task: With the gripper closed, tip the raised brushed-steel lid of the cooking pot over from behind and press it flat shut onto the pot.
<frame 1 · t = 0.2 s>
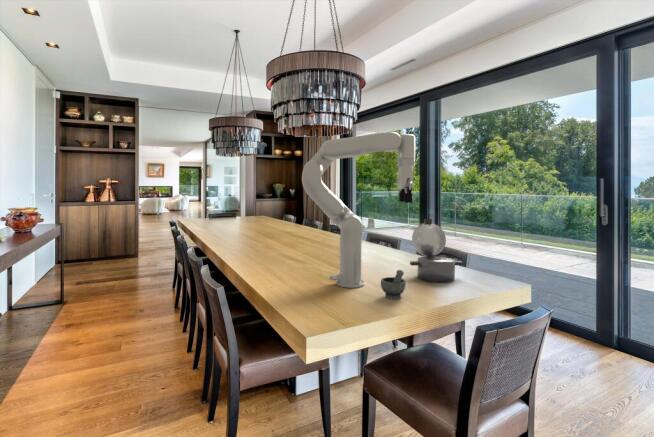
hand: (405, 202, 158), 37 cm above the table, tool pointing down, fingers open, 9 cm apart
mortar and pestle: (393, 298, 141), on the table
pot: (435, 278, 171), on the table
pot lid: (428, 237, 181), point 18 cm above the table, hinge at 105.0°
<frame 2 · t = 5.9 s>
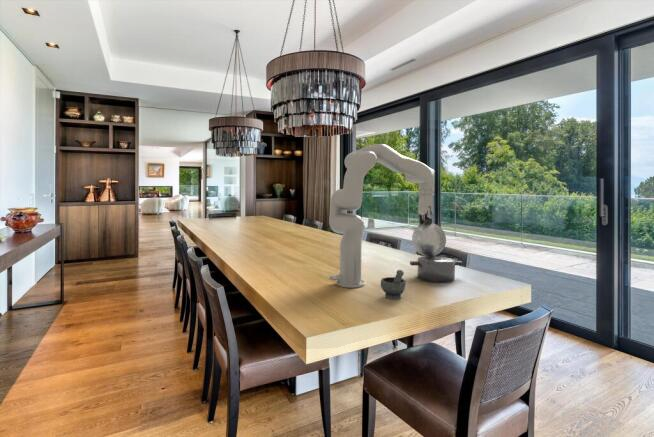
hand: (425, 228, 186), 22 cm above the table, tool pointing down, fingers closed
pot lid: (428, 237, 181), point 18 cm above the table, hinge at 103.5°, touching gripper
everything else where it was.
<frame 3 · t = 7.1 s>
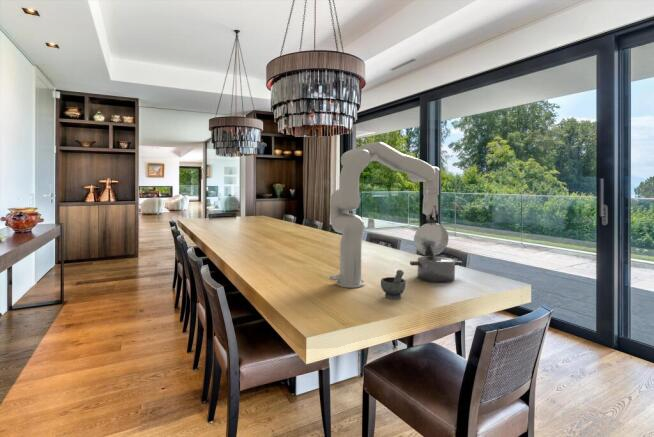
hand: (430, 228, 179), 23 cm above the table, tool pointing down, fingers closed
pot lid: (430, 237, 178), point 19 cm above the table, hinge at 82.3°, touching gripper
everything else where it was.
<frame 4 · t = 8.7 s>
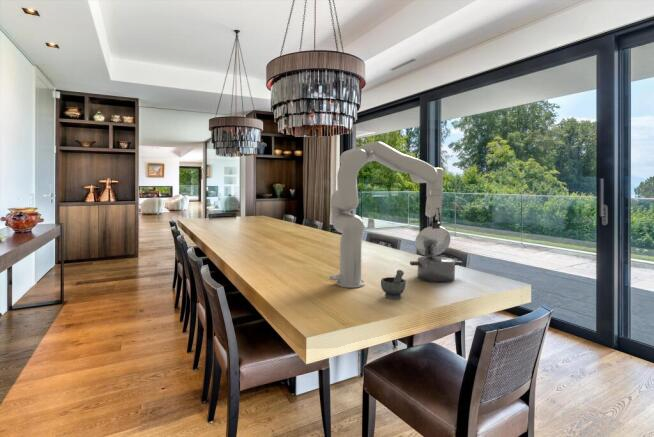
hand: (433, 231, 174), 22 cm above the table, tool pointing down, fingers closed
pot lid: (432, 238, 175), point 18 cm above the table, hinge at 66.1°, touching gripper
everything else where it was.
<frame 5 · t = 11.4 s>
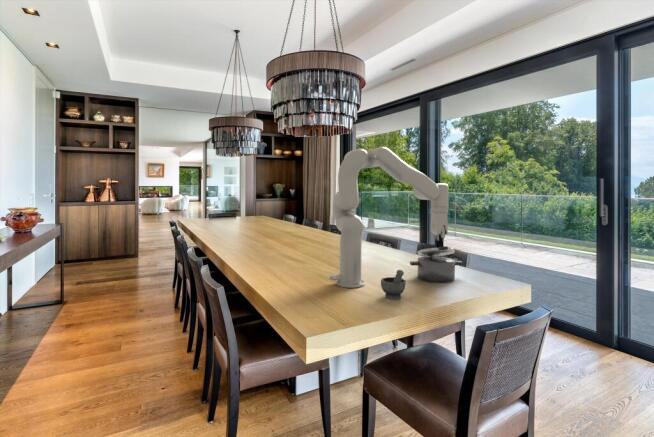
hand: (439, 248, 168), 15 cm above the table, tool pointing down, fingers closed
pot lid: (436, 250, 170), point 14 cm above the table, hinge at 20.5°, touching gripper
everything else where it was.
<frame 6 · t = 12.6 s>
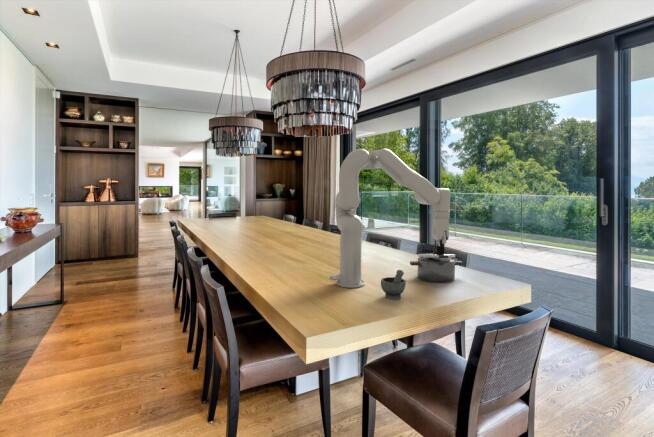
hand: (440, 254, 165), 12 cm above the table, tool pointing down, fingers closed
pot lid: (436, 254, 169), point 12 cm above the table, hinge at 8.8°
everything else where it was.
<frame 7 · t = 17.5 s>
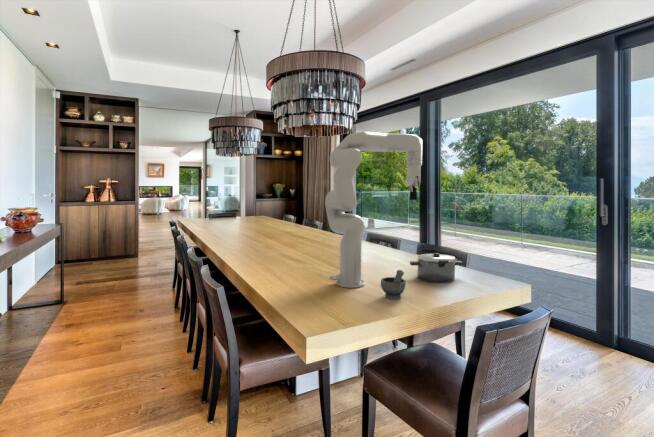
hand: (413, 199, 180), 37 cm above the table, tool pointing down, fingers closed
pot lid: (437, 256, 169), point 11 cm above the table, hinge at 1.5°
everything else where it was.
at the end: pot lid at +2° (first picture: +105°); mortar and pestle moved 0.2 cm from its start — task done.
